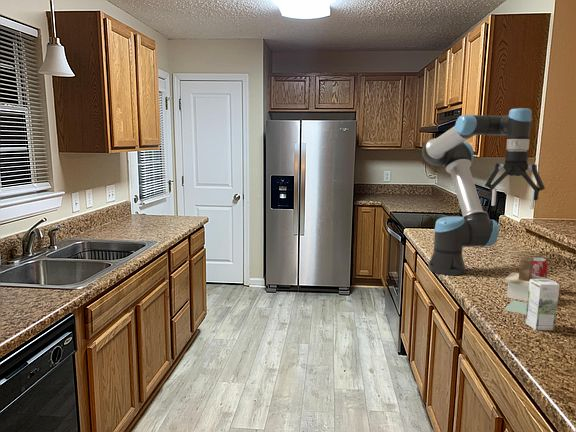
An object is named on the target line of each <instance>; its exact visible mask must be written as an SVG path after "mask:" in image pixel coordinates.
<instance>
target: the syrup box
mask: <svg viewBox="0 0 576 432" xmlns="http://www.w3.org/2000/svg"><path fill="white" fill-rule="evenodd" d="M560 286H561V285H560V284H559V283H558V282H556V281H554V280H552V279H549V278H546V279H530V282H529V291H528V300H527V301H526V303H527V310H526V315H525V320H524V323H525V324H526V325H527V326H529V327H531V328H532V329H533V330H535V331H555V326H556V317H557V311H558V309H557V308H558V302H559V294H560Z"/></svg>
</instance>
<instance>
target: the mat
mask: <svg viewBox="0 0 576 432" xmlns="http://www.w3.org/2000/svg"><path fill="white" fill-rule="evenodd" d="M503 310H504V311H509V312H513V313H517V314H520V315H525V316H526V310H527V302H522V301H518V300H514V299H513V300H511V301H510V303H508V304H507V305H506V306H505V308H503Z"/></svg>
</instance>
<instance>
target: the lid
mask: <svg viewBox="0 0 576 432" xmlns="http://www.w3.org/2000/svg"><path fill="white" fill-rule="evenodd" d="M531 257H532V256H531ZM531 257H530V256H523V257H522V258H521V259H520V260H519V270H518V272H513V271H512V272H510V273H509V274H508V275H507V276H506V277H505V278H504V283H507V284H508V283H513V284H519V285H524V286H529V282H530V279H545V278H544V277H538V276H532V271H533V260H534V258H531Z"/></svg>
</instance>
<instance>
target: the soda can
mask: <svg viewBox="0 0 576 432" xmlns="http://www.w3.org/2000/svg"><path fill="white" fill-rule="evenodd" d="M531 258H534V260H533V271H532V276H538V277H544V278H545V279H547V277H548V276H547V275H548V263H547V259H546V258H543V257H535V256H531Z"/></svg>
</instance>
